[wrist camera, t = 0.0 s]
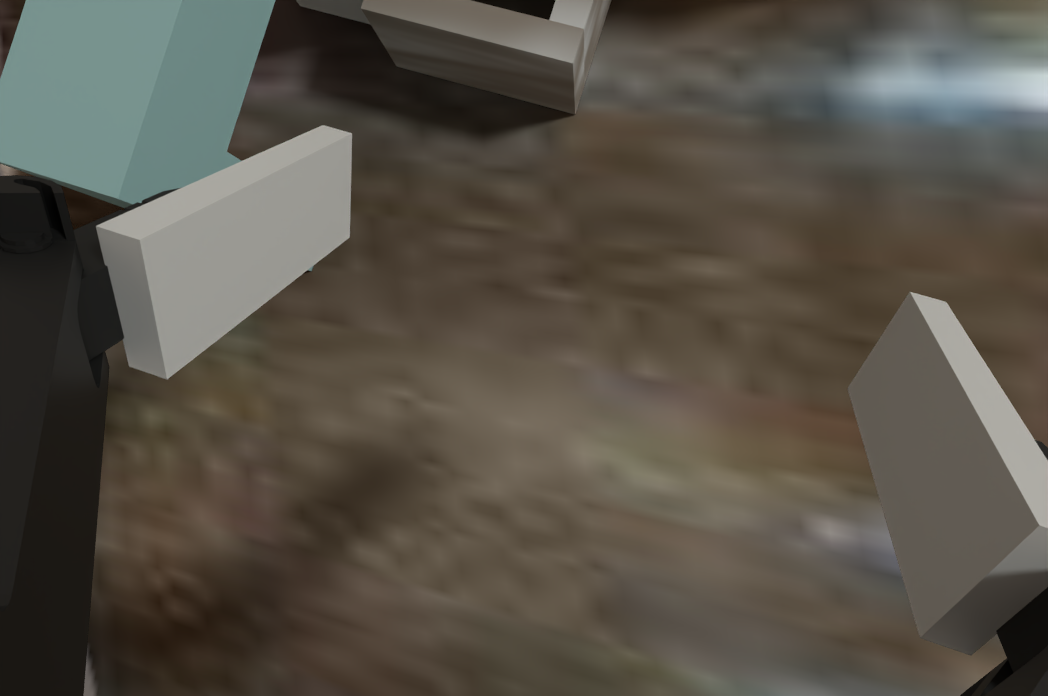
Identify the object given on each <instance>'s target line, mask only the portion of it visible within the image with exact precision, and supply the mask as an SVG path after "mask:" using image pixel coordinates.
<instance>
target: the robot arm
mask: <svg viewBox="0 0 1048 696" xmlns="http://www.w3.org/2000/svg"><path fill="white" fill-rule="evenodd" d="M351 158H352V133H349V132H345V131H342V130H338V129H335V128H331V127H328V126H324V125H322V126H320V127H318V128H315V129H313V130H311V131H309V132H306V133H304V134H302V135H300V136H297V137H295V138H293V139H291V140H288V141H286V142H284V143H282V144H279V145H277V146H275V147H273V148H270V149H268V150H266V151H263V152H261V153H259V154H257V155H254V156H252V157H250V158H248V159H245V160H243V161H241V162H239V163H236V164H234V165H232V166H230V167H227V168H225V169H223V170H221V171H218V172H216V173H214V174H212V175H209V176H207V177H205V178H203V179H200V180H198V181H196V182H194V183H191V184H189V185H187V186H185V187H182V188H177V189H172V190H167V191H162V192H160V193H158V194H156V195H153V196H151V197H149V198H146V199H144V200H142V203H139V202H137V203H135V204H133V205H130V206H128V207H126V208H125V210H124V211H123V210H119V211H116V212H114V213H112V214H110V215H107V216H105V217H103V218H100V219H98V220H96V221H93V222H91V223H89V224H87V225H84V226H82V227H80V228H77V229H75V230H73V227H72V223H71V220H70V216H69V212H68V208H67V204H66V200H65V197H64V193H63V190H62V187H61V186H60V185H58V184H57V183H55V182H53V181H51V180H47V179H43V178H39V177H32V176H18V175H14V176H0V696H83V693H84V680H85V668H86V655H87V643H88V630H89V617H90V605H91V592H92V579H93V567H94V554H95V542H96V529H97V516H98V504H99V491H100V479H101V466H102V453H103V441H104V428H105V415H106V403H107V390H108V378H109V364H108V360H107V357H106V353H105V351H106V350H107V349H109V348H110V347H112V346H113V345H115V344H116V343H118V342H119V341H121V340H122V339H123V343H124V347H125V351H126V355H127V360H128V364H129V367H132V368H135V369H138V370H141V371H144V372H147V373H150V374H153V375H156V376H159V377H161V378H164V379H168V378H170V377H171V376H172V375H173V374H175V373H176V372H177V371H178V370H180V369H181V368H182V367H184V366H185V365H186V364H187V363H189V362H190V361H191V360H193V359H194V358H195V357H196V356H198V355H199V354H200V353H202V352H203V351H204V350H205V349H207V348H208V347H209V346H211V345H212V344H213V343H214V342H216V341H217V340H218V339H220V338H221V337H222V336H223V335H225V334H226V333H227V332H229V331H230V330H231V329H232V328H234V327H235V326H236V325H238V324H239V323H240V322H241V321H243V320H244V319H245V318H247V317H248V316H249V315H250V314H252V313H253V312H254V311H256V310H257V309H258V308H259V307H261V306H262V305H263V304H265V303H266V302H267V301H268V300H270V299H271V298H272V297H274V296H275V295H276V294H277V293H279V292H280V291H281V290H283V289H284V288H285V287H286V286H288V285H289V284H290V283H291V282H293V281H294V280H295V279H297V278H298V277H299V276H300V275H302V274H303V273H304V272H306V271H307V270H308V269H309V268H311V267H312V266H313V265H315V264H316V263H317V262H318V261H320V260H321V259H322V258H324V257H325V256H326V255H327V254H329V253H330V252H331V251H333V250H334V249H335V248H336V247H338V246H339V245H340V244H342V243H343V242H344V241H345V240H347V239H348V238H349V237H350V200H351ZM848 392H849V395H850V399H851V402H852V406H853V409H854V413H855V416H856V419H857V423H858V426H859V430H860V433H861V437H862V440H863V444H864V447H865V450H866V454H867V457H868V461H869V464H870V468H871V471H872V474H873V478H874V481H875V485H876V488H877V492H878V495H879V499H880V502H881V505H882V509H883V512H884V516H885V519H886V523H887V526H888V530H889V533H890V536H891V540H892V543H893V547H894V550H895V554H896V557H897V560H898V564H899V567H900V571H901V574H902V578H903V581H904V585H905V588H906V591H907V595H908V598H909V602H910V605H911V609H912V612H913V616H914V619H915V622H916V626H917V629H918V633H919V636H920V638H922V639H925V640H927V641H930V642H933V643H936V644H939V645H942V646H945V647H948V648H951V649H954V650H957V651H959V652H962V653H965V654H968V655H972V654H973V653H975V652H976V651H977V650H978V649H979V648H980V647H982V646H983V645H984V644H985V643H986V642H988V641H989V640H990V639H991V638H992V637H994V636H995V635H996V634H998V637H999V639H1000V642H1001V644H1002V646H1003V649H1004V651H1005V654H1006V656H1007V659H1006V660H1004V661H1003V662H1002V663H1000V664H999V665H998V666H997V667H995V668H994V669H993V670H992V671H990V672H989V673H988V674H987V675H985V676H984V677H983V678H982V679H980V680H979V681H978V682H976V683H975V684H974V685H973V686H971V687H970V688H969V689H968V690H966V691H965V692H964V693H963V694H961V695H960V696H1048V448H1047V447H1046V446H1045V445H1044V444H1043V443H1042V442H1040V441H1036V440H1034V438H1033V437H1032V435H1031V434H1030V432H1029V431H1028V429H1027V427H1026V426H1025V424H1024V423H1023V421H1022V420H1021V418H1020V417H1019V415H1018V413H1017V412H1016V410H1015V409H1014V407H1013V406H1012V404H1011V403H1010V401H1009V399H1008V398H1007V396H1006V395H1005V393H1004V392H1003V390H1002V388H1001V387H1000V385H999V384H998V382H997V381H996V379H995V378H994V376H993V374H992V373H991V371H990V370H989V368H988V367H987V365H986V364H985V362H984V360H983V359H982V357H981V356H980V354H979V353H978V351H977V349H976V348H975V346H974V345H973V343H972V342H971V340H970V339H969V337H968V335H967V334H966V332H965V331H964V329H963V328H962V326H961V325H960V323H959V321H958V320H957V318H956V317H955V315H954V314H953V312H952V310H951V309H950V307H949V306H948V304H947V303H946V302H944V301H941V300H937V299H934V298H930V297H927V296H923V295H919V294H916V293H912V292H909V294H908V295H907V297H906V299H905V300H904V302H903V303H902V305H901V306H900V308H899V309H898V311H897V312H896V314H895V316H894V317H893V319H892V320H891V322H890V323H889V325H888V326H887V328H886V330H885V331H884V333H883V334H882V336H881V337H880V339H879V340H878V342H877V344H876V345H875V347H874V348H873V350H872V351H871V353H870V354H869V356H868V358H867V359H866V361H865V362H864V364H863V365H862V367H861V368H860V370H859V371H858V373H857V375H856V376H855V378H854V379H853V381H852V382H851V384H850V385H849V387H848Z"/></svg>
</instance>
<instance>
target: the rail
mask: <svg viewBox="0 0 1048 696" xmlns="http://www.w3.org/2000/svg"><path fill="white" fill-rule="evenodd" d="M296 1H297V3H298V4H299V5H300V6H302V7H306V8H309V9H313V10H317V11H321V12H325V13H329V14H332V15H336V16H340V17H344V18H348V19H351V20H355V21H359V22H363V23H367V24H370V22H369V21H368V19H367V18H366V16H365V14H364V13H363V11H362V10H361V6H362V3H363V0H296ZM274 3H275V0H26V2H25V5H24V8H23V11H22V14H21V18H20V21H19V24H18V27H17V30H16V33H15V36H14V39H13V42H12V45H11V48H10V51H9V54H8V57H7V60H6V63H5V66H4V69H3V73H2V76H1V79H0V164H3V165H6V166H9V167H12V168H14V169H17V170H20V171H23V172H25V173H28V174H31V175H34V176H37V177H39V178H43V179H47V180H51V181H53V182H55V183H57V184H59V185H62V186H64V187H67V188H70V189H73V190H75V191H78V192H81V193H84V194H87V195H89V196H92V197H95V198H98V199H101V200H103V201H106V202H109V203H112V204H114V205H117V206H120V207H123V208H126V207H128V206H130V205H133V204H135V203H137V202H139V203H142V200H144V199H146V198H149V197H151V196H153V195H156V194H158V193H160V192H162V191H167V190H172V189H177V188H182V187H185V186H187V185H189V184H191V183H194V182H196V181H198V180H200V179H203V178H205V177H207V176H209V175H212V174H214V173H216V172H218V171H221V170H223V169H225V168H227V167H230V166H232V165H234V164H236V163H239V162H241V160H239V159H238V158H236V157H234V156H233V155H231V154H230V153H228V152H227V149H228V146H229V143H230V140H231V137H232V133H233V130H234V127H235V124H236V121H237V118H238V115H239V112H240V109H241V106H242V102H243V99H244V96H245V93H246V90H247V87H248V84H249V81H250V78H251V75H252V71H253V68H254V65H255V62H256V59H257V56H258V53H259V50H260V47H261V44H262V40H263V37H264V34H265V31H266V28H267V25H268V22H269V19H270V16H271V13H272V10H273V6H274ZM370 25H371V24H370ZM312 268H313V266H312V267H311V268H309V269H308V270H309V271H312Z"/></svg>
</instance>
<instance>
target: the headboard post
mask: <svg viewBox="0 0 1048 696" xmlns="http://www.w3.org/2000/svg"><path fill="white" fill-rule="evenodd" d="M610 3H611V0H556V1H555V4H554V7H553V10H552V13H551V16H550V19H549V20H547V19H543V18H539V17H535V16H531V15H527V14H523V13H519V12H515V11H511V10H507V9H503V8H499V7H495V6H491V5H487V4H483V3H479V2H475V1H472V0H363V3H362V6H361V10H362V11H363V13H364V14H365V16H366V18H367V19H368V21H369V22H370V24H371V26H372V27H373V29H374V31H375V32H376V34H377V35H378V37H379V39H380V40H381V42H382V44H383V45H384V47H385V48H386V50H387V52H388V53H389V55H390V57H391V58H392V60H393V61H394V63H395V65H396V66H397V67H400V68H404V69H408V70H411V71H415V72H419V73H422V74H426V75H430V76H434V77H437V78H441V79H445V80H449V81H452V82H456V83H460V84H463V85H467V86H471V87H475V88H478V89H482V90H486V91H489V92H493V93H497V94H501V95H504V96H508V97H512V98H515V99H519V100H523V101H527V102H530V103H534V104H538V105H542V106H545V107H549V108H553V109H556V110H560V111H564V112H568V113H571V114H576V111H577V107H578V104H579V101H580V98H581V95H582V92H583V89H584V85H585V82H586V79H587V76H588V73H589V70H590V66H591V63H592V60H593V57H594V54H595V51H596V47H597V44H598V41H599V38H600V35H601V32H602V29H603V25H604V22H605V19H606V16H607V13H608V10H609V6H610Z"/></svg>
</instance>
